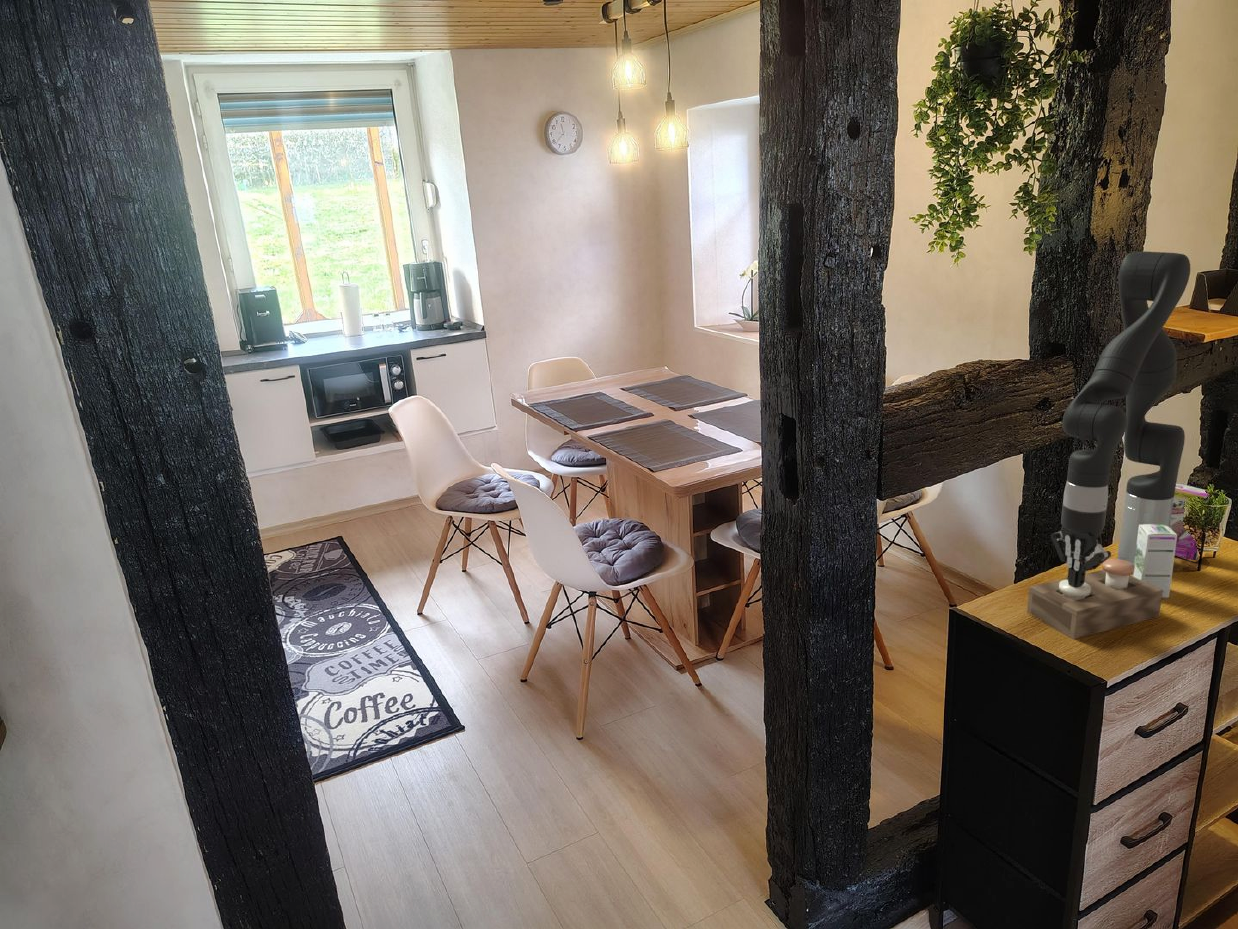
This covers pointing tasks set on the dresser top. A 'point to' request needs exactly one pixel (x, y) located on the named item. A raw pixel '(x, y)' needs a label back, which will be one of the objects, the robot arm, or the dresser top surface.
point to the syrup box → (1155, 556)
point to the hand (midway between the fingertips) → (1075, 585)
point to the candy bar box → (1184, 539)
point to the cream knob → (1074, 590)
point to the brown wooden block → (1094, 605)
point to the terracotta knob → (1117, 573)
